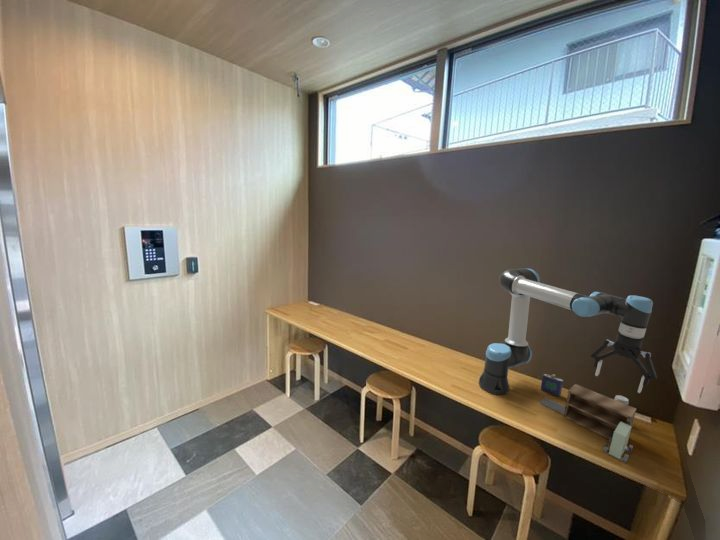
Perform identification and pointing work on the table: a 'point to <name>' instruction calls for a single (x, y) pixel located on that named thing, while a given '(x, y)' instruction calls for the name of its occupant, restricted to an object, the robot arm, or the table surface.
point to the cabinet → (596, 411)
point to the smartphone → (553, 405)
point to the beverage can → (621, 399)
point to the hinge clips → (616, 457)
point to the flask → (551, 385)
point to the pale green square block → (620, 440)
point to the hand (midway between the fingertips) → (617, 382)
